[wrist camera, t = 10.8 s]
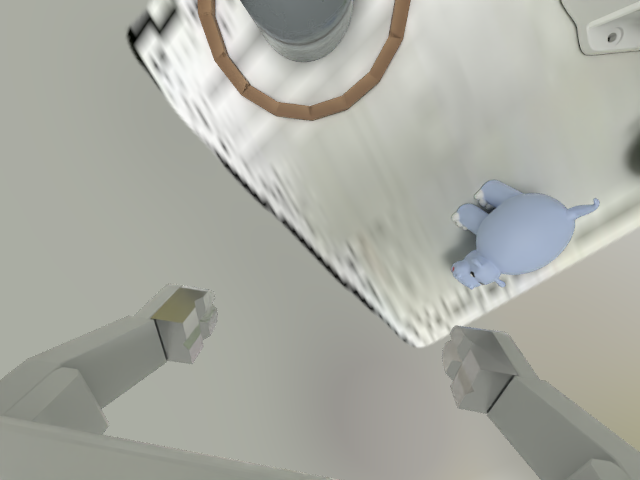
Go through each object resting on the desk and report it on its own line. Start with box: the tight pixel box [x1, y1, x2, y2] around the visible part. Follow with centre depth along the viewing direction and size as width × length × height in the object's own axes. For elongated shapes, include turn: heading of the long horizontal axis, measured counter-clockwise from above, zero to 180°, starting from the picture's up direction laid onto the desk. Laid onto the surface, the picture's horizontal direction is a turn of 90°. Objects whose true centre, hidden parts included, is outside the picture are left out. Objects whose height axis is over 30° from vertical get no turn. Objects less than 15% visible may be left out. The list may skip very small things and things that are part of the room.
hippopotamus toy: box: [451, 180, 600, 290], centre depth 32 cm, size 11×15×10 cm
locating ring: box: [198, 0, 411, 121], centre depth 28 cm, size 23×23×1 cm
